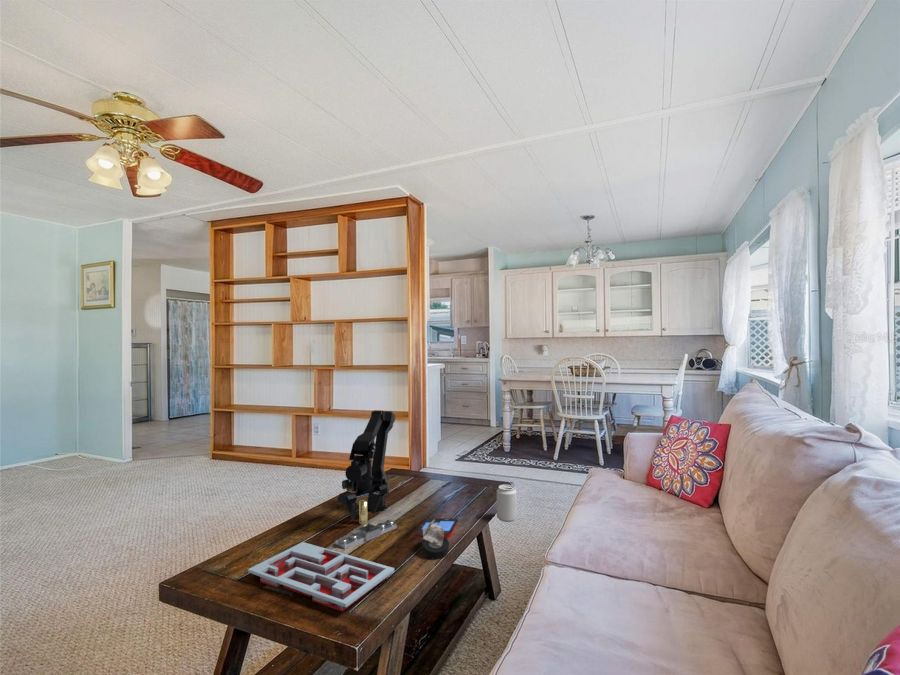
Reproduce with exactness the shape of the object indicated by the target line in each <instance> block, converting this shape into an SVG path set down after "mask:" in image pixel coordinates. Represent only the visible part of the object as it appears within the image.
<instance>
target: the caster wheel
mask: <svg viewBox="0 0 900 675" xmlns="http://www.w3.org/2000/svg"><path fill="white" fill-rule="evenodd" d="M421 543H422V545H421V546H422V549H421V550H422V553H423V555H424V556H425V557H426V558H429V559H432V560H439V559H442V558H444V557H446V556H447V555H448V554H449V552H450V542H449V538H446V537H444V529H443V528H442V527H440V526H438V525H436V524H435V519H434V520H433V521H432V522H431V523H430V524H429V525H428V526H427V527H426V528H424V529H423V536H422V541H421Z"/></svg>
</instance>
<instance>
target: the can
mask: <svg viewBox="0 0 900 675" xmlns="http://www.w3.org/2000/svg"><path fill="white" fill-rule="evenodd" d="M517 492H518V491H517V490H516V487H515V486H514V485H513V484H500V485H498V488H497V489H496V517H497V519H498V520H499V521H500V522H504V523H510V522H511V523H512V522H514V521H515V520H516V519H517V518H518V510H517V509H518V504H517V502H518V499H517V498H518V493H517Z"/></svg>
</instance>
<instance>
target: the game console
mask: <svg viewBox="0 0 900 675" xmlns="http://www.w3.org/2000/svg"><path fill="white" fill-rule="evenodd" d="M434 519H435V524H436V525H438V526H440V527H442V528H443V529H444V537H446V538H447V539H450V537H451V538H452V537H453V535H452V534H454V533H455V530H456V529H455V527H458V526H459V520H458V519H457V518H451V517H450V518H440V517H439V518H434V517H432V518H431V517H429V518H426V519H424V522H422V524H421V525H420V527H419V528H418V529H417V531H416V532H415V533H414V535H415V536H417V537H423V529H424V528H426V527H427V526H428V525H429V524H430V523H431V522H432V521H433V520H434ZM457 525H458V526H457Z"/></svg>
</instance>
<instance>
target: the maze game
mask: <svg viewBox="0 0 900 675" xmlns="http://www.w3.org/2000/svg"><path fill="white" fill-rule="evenodd" d="M394 572H395V567H391V566H389V565H388V566H387V565H384V564H381V563H377V562H374V561H371V560H367V559H364V558H360V557H357V556H353V555H350V554H346V553H343V552H339V551H336V550H332V549H330V548H329V549H328V548H327V547H326V548H325V547H321V546H318V545H314V544H311V543H307V542H304V541H303V542H300V543H298V544H296V545H293V546H292V547H290V548H287V549H286V550H284V551H281V552H280V553H278V554H276V555H274V556H272V557H270V558H268V559H265V560H264V561H261V562H260V563H258V564H257V563H256V565H253V566H251V567H250V568H248V569H247V573H250V574H252V575H255V576H257V577H260V578H259V581H260V582H259V583H261V584H265V585H267V586H270V587H273V588H275V589H279V588H280V587H282V586H283V589H286V590H289V591H291V592H295V593H297V594H301V595H304V596H306V597H309V598H311V597H312V598H311V599H312V602H315V603H317V604H320V605H322V606H326V607H328V608H331V609H333V610H337V611H339V612H342V613H344V612H345V611H346V610H347V609H349V608H350V607H351V606H352V605H354V604H355V603H357V602H358V601H359V600H361V599H362V598H364V597H365V595H366V594H367V593H368V592H371V591H372V590H374V589H375V588H376V587H377V586H379V585H380V584H381V583H383V582H384V581H385V580H386V578H388V577H389V576H390V575H392V574H393V573H394Z"/></svg>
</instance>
